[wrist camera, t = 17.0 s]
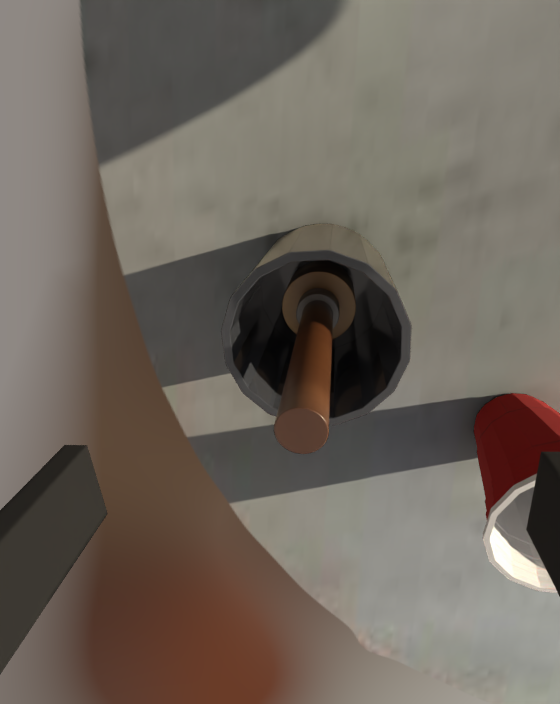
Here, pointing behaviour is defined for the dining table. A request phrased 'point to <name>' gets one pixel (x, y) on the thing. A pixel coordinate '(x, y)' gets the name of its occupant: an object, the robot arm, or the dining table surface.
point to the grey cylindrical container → (347, 349)
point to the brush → (312, 352)
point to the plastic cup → (514, 481)
